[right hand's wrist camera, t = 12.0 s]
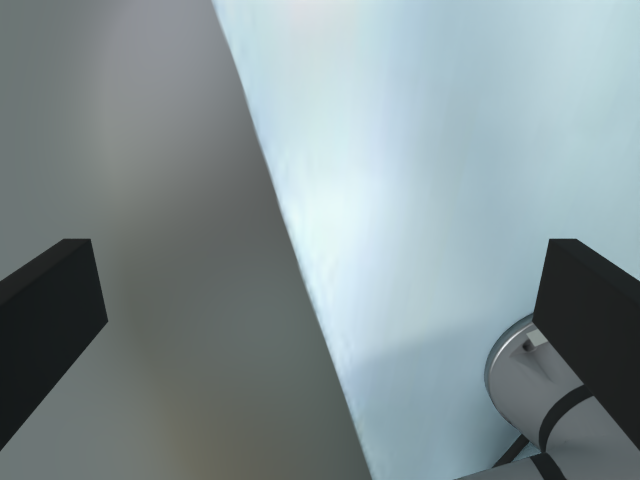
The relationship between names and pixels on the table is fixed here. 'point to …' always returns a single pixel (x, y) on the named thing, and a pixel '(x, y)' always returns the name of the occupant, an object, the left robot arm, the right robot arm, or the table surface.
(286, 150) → the table surface
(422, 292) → the table surface
